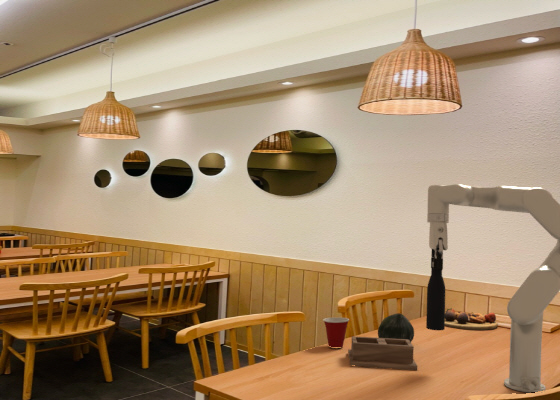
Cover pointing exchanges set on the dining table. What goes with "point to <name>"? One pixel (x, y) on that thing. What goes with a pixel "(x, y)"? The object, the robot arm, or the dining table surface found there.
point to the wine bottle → (435, 299)
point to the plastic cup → (336, 331)
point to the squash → (396, 328)
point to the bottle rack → (382, 353)
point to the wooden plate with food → (470, 320)
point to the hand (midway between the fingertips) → (436, 268)
